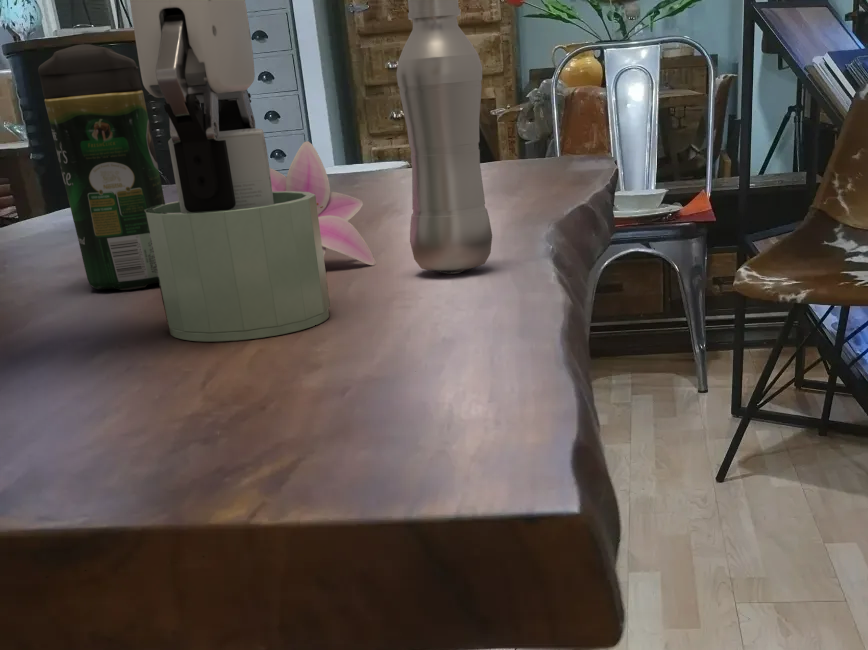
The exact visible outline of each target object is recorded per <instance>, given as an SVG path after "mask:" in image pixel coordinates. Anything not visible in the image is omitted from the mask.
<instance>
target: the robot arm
mask: <svg viewBox="0 0 868 650" xmlns="http://www.w3.org/2000/svg"><path fill="white" fill-rule="evenodd" d="M129 5H130V10H131V11H130V13H131V18H132V25H133V31H134V38H135V45H136V51H137V58H138V65H139V70H140V76H141V81H142V82H141V83H142V85H143V87H144V89H145V90H146V91H147V92H148V93H149V94H150V95H151V96H152V97H154V98H159V99H160V98H161V99H163V98H164V105H163V108H164V111H165V113H167V116H168V119H169V120H168V121H169V122H168V123H169V135H170V138H171V139H172V142H173V143H174V144H173V145H174V150H175V156H176V161H177V167H178V172H179V178H180V183H181V189H182V194H183V200H184V206H185V208H186V210H187V211H189V212H202V211H218V210H230V209H232V208H234V207H235V204H236V202H235V195H234V189H233V183H232V177H231V170H230V164H229V158H228V152H227V145H226V140H219V132H220V131H230V130H239V129H256V120H255V116H254V112H253V108H252V105H251V103H252V100H251V98H252V96H251V93H249V91H248V89H249V88H250V87H251V86H252V85H253V83H254V82H255V77H256V76H255V75H256V73H255V62H254V61H255V60H254V51H253V44H252V43H253V42H252V37H251V35H252V34H251V30H250V28H251V27H250V23H249V22H250V21H249V17H248V9H247V4H246V0H129ZM219 101H220V105H219ZM201 104H203V109H202V107H201ZM218 140H219V141H218Z"/></svg>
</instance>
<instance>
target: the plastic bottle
mask: <svg viewBox="0 0 868 650" xmlns="http://www.w3.org/2000/svg"><path fill="white" fill-rule="evenodd" d="M407 6H408V12H407V19H408V20H411V21H412V30H411V32H410V34H409V35H408V38H407V40H406V41H405V44H404V45H403V48H402V50H401V53H400V56H399V58H398V61H397V67H396V73H395V74H396V82H397V87H398V89H399V97H400V101H401V107H402V111H403V115H404V120H405V125H406V132H407V139H408V147H409V149H410V162H411V175H412V176H411V191H412V192H411V194H412V196H411V199H412V200H411V203H412V213H411V217H410V227H409V228H410V229H409V244H410V247H411V251H412V255H413V259H414V261H415V263H416V264H417V265H418V266H419V268H420V269H422V270H424V271H425V270H426V271H432V272H437V273H443V274H448V275H449V274H460V273H462V272H466V271H468V270H472V269H475V268H477V267H481V266H483V265H485V264H486V262H487V261H488V259H489V257H490V255H491V253H492V242H493V231H492V226H491V221H490V215H489V211H488V209H487V208H486V200H485V192H484V185H483V176H482V170H481V169H482V168H481V155H480V153H481V150H480V147H479V146H480V145H479V143H480V141H481V139H480V137H481V136H480V118H481V117H480V116H481V104H482V90H483V89H482V87H483V85H482V81H483V65H482V61H481V58H480V55H479V53H478V52H477V49H476V48H475V46H474V45H473V43H472V42H471V41H470V39H469V37H468V36H467V35H466V34H465V32H464V31H463V30H462V29H461V27H460V26H459V23H458V17H460V16H461V8H460V6H459V0H407Z"/></svg>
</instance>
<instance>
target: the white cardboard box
mask: <svg viewBox="0 0 868 650" xmlns="http://www.w3.org/2000/svg"><path fill="white" fill-rule="evenodd" d="M219 140H226V145H227V152H228V158H229V164H230V170H231V177H232V183H233V189H234V195H235V202H236V204H235V207H234V208H232V209H241V208H250V207H258V206H264V205H271V204H274V200H273V192H272V184H271V177H270V169H269V168H270V162H269V155H268V149H267V142H266V137H265V133H264V130H263V128H255V129H239V130H230V131H220V132H219ZM219 140H218V141H219ZM167 143H168V149H169V153H170V160H171V164H172V170H173V176H174V182H175V183H174V184H175V187H176V188H175V189H176V193H177V198H178V201H179V204H180V209H181V213H193V212H189V211H187V210H186V208H185V206H184V200H183V194H182V189H181V183H180V178H179V172H178V167H177V161H176V156H175V150H174V145H173V144H174V143H173V142H172V139H171V137H170V139H169V140H168V142H167ZM232 209H230V210H232ZM218 211H222V210H218ZM202 212H208V211H202Z"/></svg>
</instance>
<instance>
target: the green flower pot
mask: <svg viewBox="0 0 868 650" xmlns="http://www.w3.org/2000/svg"><path fill="white" fill-rule="evenodd" d="M273 200H274V204H271V205H264V206H258V207H250V208H241V209H232V210H222V211H208V212H193V213H181V209H180V204H179V200H176V201H171V202H165V204H161V205H156V206H153V207H150V208H148V209H145V210H144V212H145V217H146V221H147V226H148V231H149V236H150V241H151V246H152V251H153V256H154V261H155V266H156V271H157V276H158V281H159V282H158V285H159V290H160V295H161V300H162V305H163V310H164V314H165V315H164V316H165V319H166V323H167V325H168V331H169V334H170V335H171V337H173V338H175V339H179V340H184V341H189V342H202V343H203V342H205V343H208V342H209V343H215V342H218V343H219V342H237V341H238V342H239V341H248V340H256V339H264V338H271V337H276V336H282V335H287V334H292V333H296V332H299V331H303V330H307V329H310V328H313V327H316V326H318V325H320V324H322V323H324V322H326V321H327V320H328V319H329V318H330V316H331V312H330V307H331V302H330V295H329V286H328V280H327V273H326V272H327V271H326V266H325V264H326V263H325V255H324V256H323V249H322V241H321V234H320V226H319V219H318V211H317V204H316V196H315V194H312V193H310V192H301V191H273ZM315 325H316V326H315Z"/></svg>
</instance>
